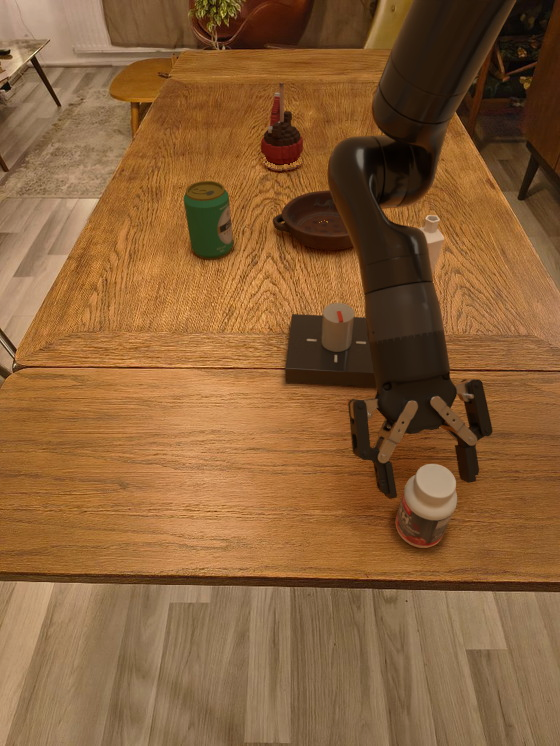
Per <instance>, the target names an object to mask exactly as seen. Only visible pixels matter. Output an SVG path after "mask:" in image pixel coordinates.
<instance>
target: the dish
mask: <svg viewBox="0 0 560 746" xmlns="http://www.w3.org/2000/svg"><path fill="white" fill-rule="evenodd" d="M324 220H325V221H324ZM321 221H322V222H321ZM326 221H328V223H327V222H326ZM319 222H320V223H319ZM272 223H273V227H274V228H275V230H277V231H279V232H283V233H286V234H290V235H291V236H292V237H293V238H294V239H295V241H297V242H298V243H300V244H301V245H302V246H306V247H309V248H312V249H316V250H325V251H337V250H344V249H349V248H352V247H353V248H354V246H353V244H352V242H351V239H350V237H349V234H348V232H347V229H346V227H345V225H344V223H343V221H342V219H341V217H340V215H339V212H338V210H337V208H336V206H335V204H334V201H333V199H332V196H331V193H330V190H329V189H328V190H318V191H317V190H316V191H310V192H306V193H302V194H300V195H298V196H295V197H294V198H292V199H291V200H290V201H288V202H287V203H286V204H285V205H284V206H283V208H282V211H281V213H280V214H277V215H275V216H274V217H273V218H272Z"/></svg>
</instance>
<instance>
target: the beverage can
mask: <svg viewBox="0 0 560 746" xmlns="http://www.w3.org/2000/svg"><path fill="white" fill-rule="evenodd" d="M182 199H183V204H184V210H185V217H186V222H187V223H186V224H187V230H188V236H189V241H190V247H191V250H192V252H194V254H195V255H196V256H197V257H199V258H201V259H203V260H218V259H222V258H224V257H226V256H228V255H229V254H230V253H231V251H232V248H233V246H234V239H233V238H234V237H233V228H232V216H231V207H230V195H229V192H228V190H226V189H225V185H224V184H222V183H221V182H218V181H213V180H201V181H196V182H194V183H192V184H189V185H188V186H187V187H186V189H185V193H184V196H183V198H182Z"/></svg>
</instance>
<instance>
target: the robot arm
mask: <svg viewBox="0 0 560 746" xmlns="http://www.w3.org/2000/svg"><path fill="white" fill-rule="evenodd" d="M516 2H517V0H411V3H410V5H409V7H408V9H407V12H406V14H405V17H404V19H403V21H402V24H401V26H400V28H399V31H398V33H397V36H396V38H395V41H394V42H393V45H392V48H391V51H390V53H389V56H388V58H387V61H386V63H385V66H384V68H383V71H382V73H381V76H380V79H379V81H378V83H377V86H376V89H375V92H374V95H373V98H372V103H371V114H372V118H373V121H374V123H375V125H376V127H377V129H378V130H380V132H382V134H379V135H378V134H377V135H359V136H349V137H347V138H344V139H342V140H340V141H339V142H338V143H337V144H336V145H335V146H334V148H333V150H332V151H331V154H330V156H329V159H328V163H327V170H326V174H327V175H326V177H327V184H328V190H330V193H331V196H332V199H333V201H334V204H335V206H336V208H337V210H338V212H339V215H340V217H341V219H342V221H343V223H344V225H345V227H346V229H347V232H348V234H349V237H350V239H351V242H352V244H353V248H354V251H355V254H356V257H357V260H358V267H359V270H360V271H359V273H360V279H361V287H362V292H363V299H364V317H365V319H366V326H367V328H366V333H367V337H368V339H369V345H370V351H371V357H372V364H373V370H374V376H375V382H376V387H377V388H376V392H375V396H374V398H368V399H367V398H366V399H358V398H357V399H356V398H351V399H350V400H349V401H348V402H347V408H348V409H347V410H348V417H349V418H348V419H349V428H350V429H349V430H350V439H351V447H352V454H353V455H354V456H355V457H357V458H359V459H361V460H363V461H370V462H372V465H373V471H374V477H375V484H376V488H377V490H378V491H379V492H380V493H382V494H383V495H384V496H385V498H386V499H389V500H394V499H397V498H398V493H397V492H398V491H397V486H396V479H395V473H394V467H393V462H392V461H390V458H391V457H392V454H393V452H394V450H395V448H396V447H397V445H399V444H400V442H401V441H402V439H403V437H404V435H405V434H408V435H414V434H415V435H416V434H418V433H421V432H422V431H426V430H427V431H435V430H440V428H441V429H442V430H444V431H446V432H447V433H448V434H449V436H451V437H452V439H454V440H455V441H456V442H457V444H454V451H455V457H456V463H457V469H458V475H459V478H460V480H461V481H462V482H464V483H467V484H470V483H475V482H476V481H477V476H479V474H480V466H479V459H478V452H477V444H478V442H479V441H480V440H482V439H484V438H485V437H490V436H492V434H493V425H492V420H491V417H490V411H489V407H488V402H487V397H486V393H485V392H486V391H485V388H484V383H483V381H482V380H480V379H478V378H477V379H476V378H464V379H462V380H461V381H459V382H456V383H453V381H452V379H451V366H450V360H449V359H450V358H449V353H448V347H447V341H446V334H445V329H444V323H443V322H444V321H443V316H442V310H441V304H440V299H439V297H438V294H437V290H436V287H435V283H434V274H433V275H432V269H431V263H430V256H429V249H428V244H427V240H426V236H425V234H424V233H423V231H421V230H420V229H419V227H415V226H411V225H406V224H405V225H404V224H400V223H396V222H394V221H392V220H391V219H390V218H389V217H388V216H387V215H386V214H385V212H384V211H383V210H386V209H388V210H389V209H399V208H406V207H410V206H413V205H415V204H416V203H418V202H419V201H420V200H421V199H423V198H424V197H425V196H426V195H427V194H428V192H429V191H430V190H431V189H432V186H433V184H434V181H435V178H436V174H437V170H438V165H439V161H440V158H441V153H442V151H443V146H444V144H445V143H444V142H445V138H446V135H447V131H448V128H449V124H450V122H451V120H452V119H453V117H454V115H455V114H456V112H457V110H458V108H459V106H460V105H461V103H462V101H463V99H465V96H466V95H467V93H468V91H469V89H470V88H471V86H472V85H473V82H474V81H475V80H476V77H477V76H478V74H479V72H480V70H481V68H482V67H483V64H484V63H485V61H486V59H487V57H488V56H489V54H490V52H491V50H492V47H493V46H494V44H495V42H496V41H497V38H498V36H499V35H500V32H501V31H502V29H503V26H504V25H505V23H506V21H507V19H508V17H509V16H510V13H511V12H512V9H513V8H514V6H515V4H516ZM457 396H458V398H459V400H460V401H461V402H463V403H464V404H463V405H464V409H465V414H466V418H467V423H468V426H467V425H466V422H465V421H464V420H463V419H462V418H461V417H460V416H459V415H458V414H457V413H456V412H455V411H454V410H453V409H452V406H453V405H454V402H455V400H456V398H457ZM375 410H377V411H378V412H379V413H380V414H381V416H383V418H384V420H383V422H382V424H381V426H380V429H379V430H378V432H377V438H376V439H375V442H374V444H373V445H372V446H371V437H370V427H369V426H370V425H369V421H370V420H372V419H373V418H374V417H373V416H374V411H375Z"/></svg>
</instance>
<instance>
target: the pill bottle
mask: <svg viewBox="0 0 560 746" xmlns="http://www.w3.org/2000/svg"><path fill="white" fill-rule="evenodd" d="M454 475H455V474H453V472H452V471H451V470H450V469H448V468H447V467H445V466H443V465H441V464H438V463H426V464H424V465H422V466H420V467H419V468H418V469H417V471H416V473H415V474H414V475H412V476H411V477H410V478H409V479H408V480H407V482H406V483H405V486H404V488H403V492H402V495H401V499H400V501H399V506H398V508H397V512H396V516H395V528H396V530H397V533H398V535H399V537H400V538H401V539H402V541H404V542H405V543H406V544H409V545H410V546H412V547H416V548H419V549H428V548H431V547H434V546H436V545H438V543H439V542H441V540H442V538H443V536H444V534H445V533H446V530H447V529H448V526H449V523H450V521H451V520H452V517H453V515H454V512H455V511H456V508H457V506H458V494H457V491H456V488H457V479H456V477H455V476H454Z"/></svg>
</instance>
